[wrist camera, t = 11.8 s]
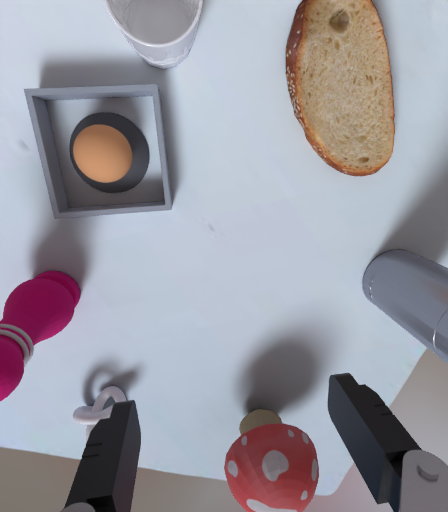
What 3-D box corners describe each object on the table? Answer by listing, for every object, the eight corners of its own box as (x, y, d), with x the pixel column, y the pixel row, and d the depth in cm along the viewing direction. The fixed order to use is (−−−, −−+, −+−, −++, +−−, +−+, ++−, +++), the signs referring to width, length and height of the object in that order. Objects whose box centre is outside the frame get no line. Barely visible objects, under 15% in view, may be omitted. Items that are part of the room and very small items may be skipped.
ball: (132, 125, 36) (121, 120, 30) (139, 178, 38) (130, 183, 32) (79, 128, 35) (57, 123, 30) (89, 181, 37) (71, 187, 32)
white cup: (165, -30, 32) (156, -106, 22) (213, 43, 34) (223, 2, 25) (108, 24, 33) (77, -28, 23) (159, 90, 35) (149, 68, 26)
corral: (159, 89, 35) (157, 83, 32) (172, 205, 39) (171, 209, 36) (38, 94, 34) (23, 89, 31) (64, 213, 38) (54, 218, 35)
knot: (107, 370, 46) (97, 400, 41) (147, 398, 49) (142, 430, 43) (74, 400, 47) (59, 433, 42) (115, 427, 50) (106, 461, 44)
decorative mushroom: (209, 440, 53) (218, 546, 39) (230, 377, 49) (248, 468, 35) (281, 448, 55) (314, 549, 41) (306, 388, 52) (352, 477, 38)
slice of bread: (372, 184, 42) (389, 187, 39) (251, 138, 38) (258, 137, 35) (439, 41, 37) (466, 29, 34) (308, -29, 34) (323, -50, 30)
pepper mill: (19, 303, 41) (-120, 431, 22) (37, 257, 40) (-98, 354, 21) (73, 323, 43) (-14, 456, 24) (92, 280, 41) (14, 387, 23)
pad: (143, 110, 36) (143, 110, 35) (153, 189, 39) (153, 190, 38) (62, 114, 35) (61, 114, 35) (79, 195, 38) (78, 195, 38)
